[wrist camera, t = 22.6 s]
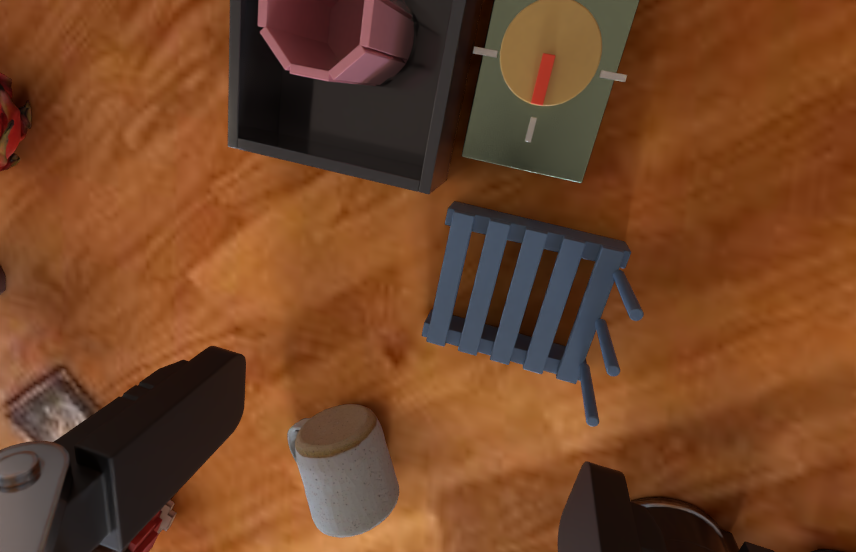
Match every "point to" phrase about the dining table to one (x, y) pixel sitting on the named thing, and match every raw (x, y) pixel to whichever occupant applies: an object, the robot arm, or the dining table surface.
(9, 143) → the dragon fruit
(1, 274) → the ice cream bowl
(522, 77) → the tap knob
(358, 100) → the dark grey open box
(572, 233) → the drying rack
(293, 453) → the ceramic mug
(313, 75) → the cup
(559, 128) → the tap panel
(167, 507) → the cake
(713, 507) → the dining table surface
